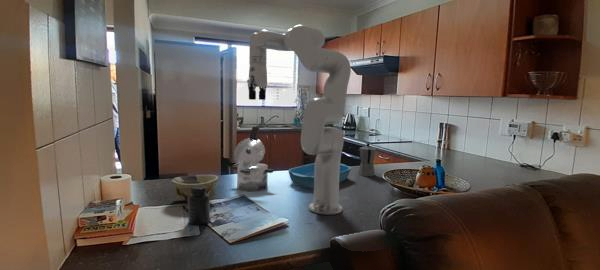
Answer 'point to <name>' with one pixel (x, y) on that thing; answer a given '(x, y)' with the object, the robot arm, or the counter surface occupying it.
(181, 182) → the bowl
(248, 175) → the pot
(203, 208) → the supplement bottle
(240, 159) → the lid
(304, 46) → the robot arm
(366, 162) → the coffeepot
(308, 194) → the counter surface
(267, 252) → the counter surface
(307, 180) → the casserole dish
